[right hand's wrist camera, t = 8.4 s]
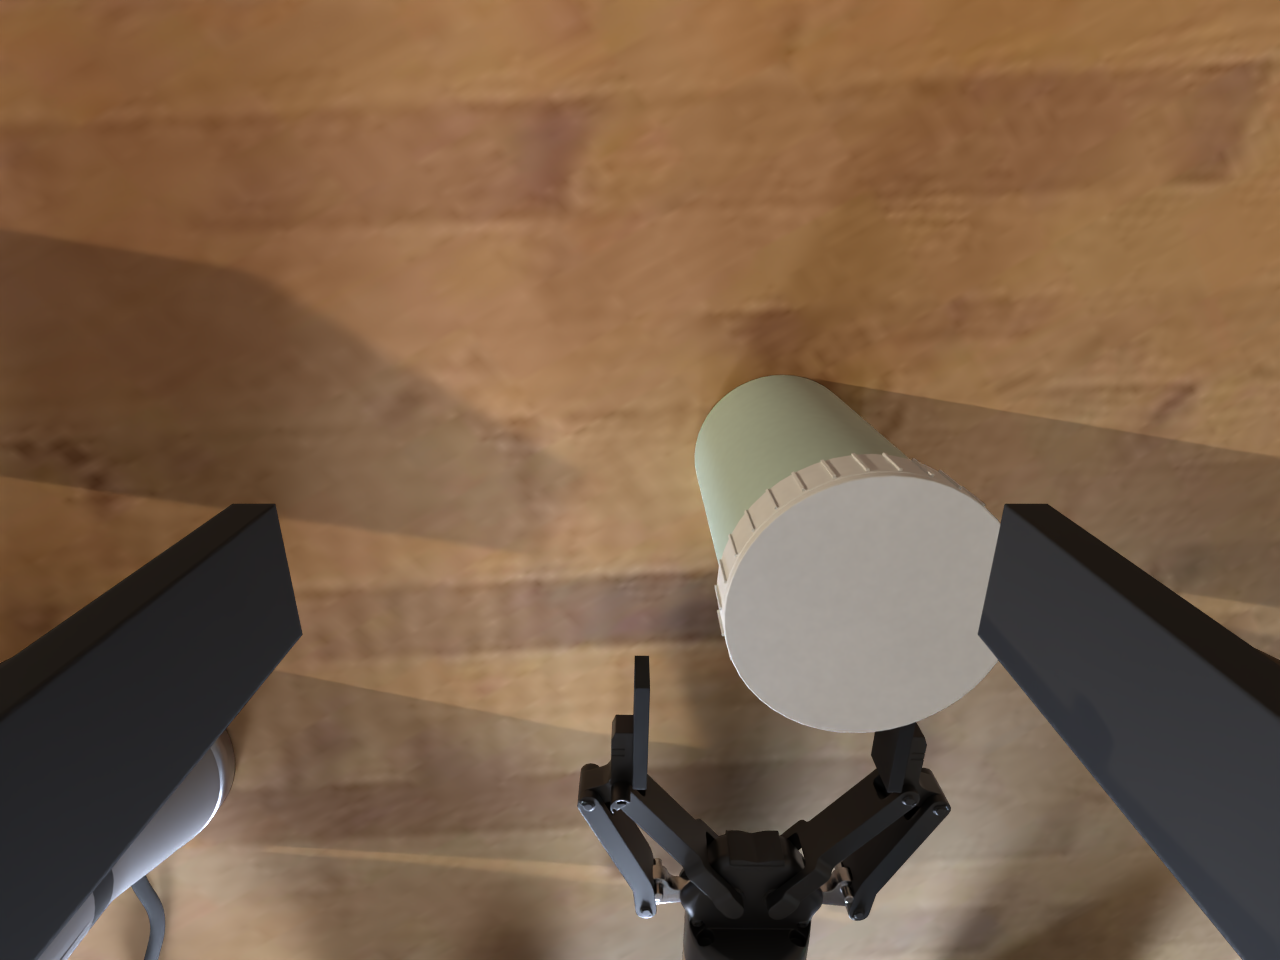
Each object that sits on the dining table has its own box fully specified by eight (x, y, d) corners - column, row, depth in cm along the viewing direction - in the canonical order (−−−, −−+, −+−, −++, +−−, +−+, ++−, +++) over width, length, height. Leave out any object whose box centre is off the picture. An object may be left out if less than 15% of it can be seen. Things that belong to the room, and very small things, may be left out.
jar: (662, 439, 37) (680, 583, 22) (801, 340, 35) (923, 426, 20) (752, 556, 40) (822, 755, 25) (887, 470, 38) (1049, 629, 23)
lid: (659, 558, 24) (661, 588, 22) (908, 392, 22) (935, 409, 20) (807, 736, 27) (821, 778, 25) (1039, 605, 25) (1075, 639, 23)
